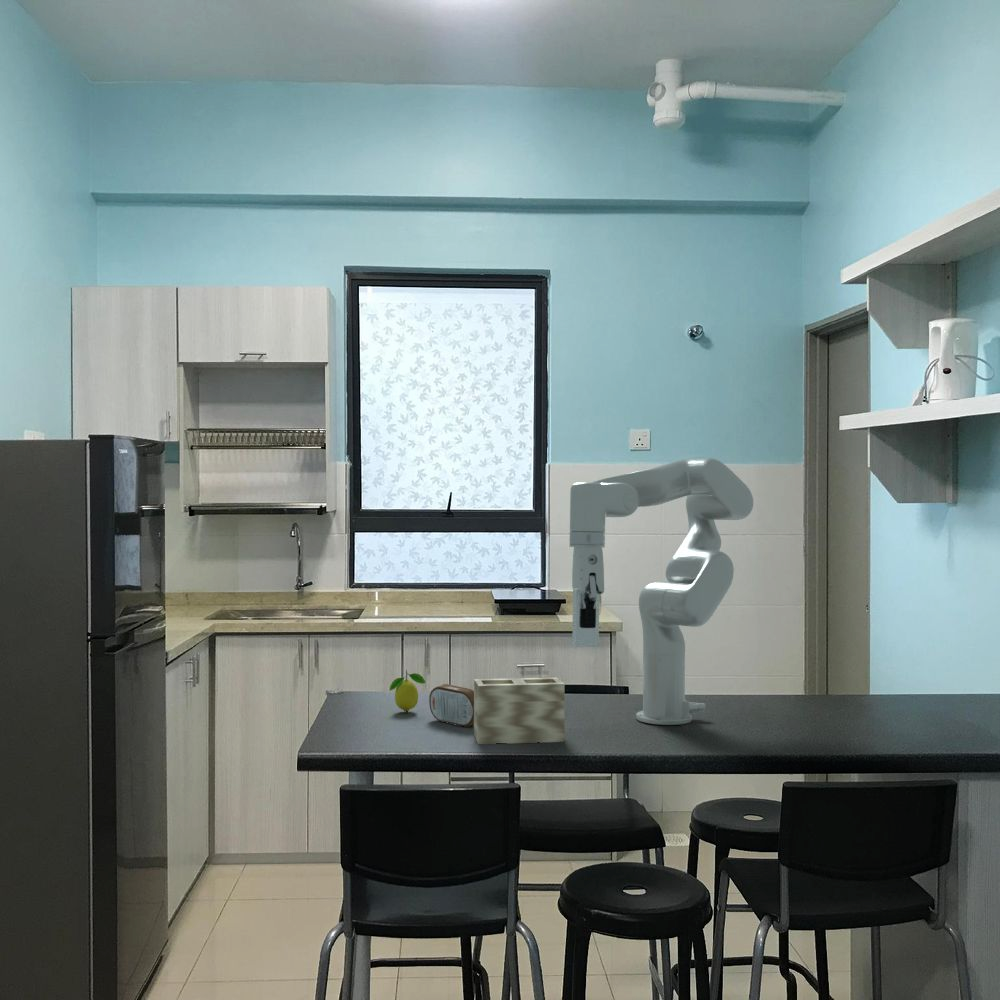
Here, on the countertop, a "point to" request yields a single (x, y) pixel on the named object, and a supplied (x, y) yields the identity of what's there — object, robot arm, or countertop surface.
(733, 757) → the countertop surface
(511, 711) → the two-slot cinder block
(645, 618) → the robot arm
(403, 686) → the lemon
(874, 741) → the countertop surface
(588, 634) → the grey slab
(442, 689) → the tin
